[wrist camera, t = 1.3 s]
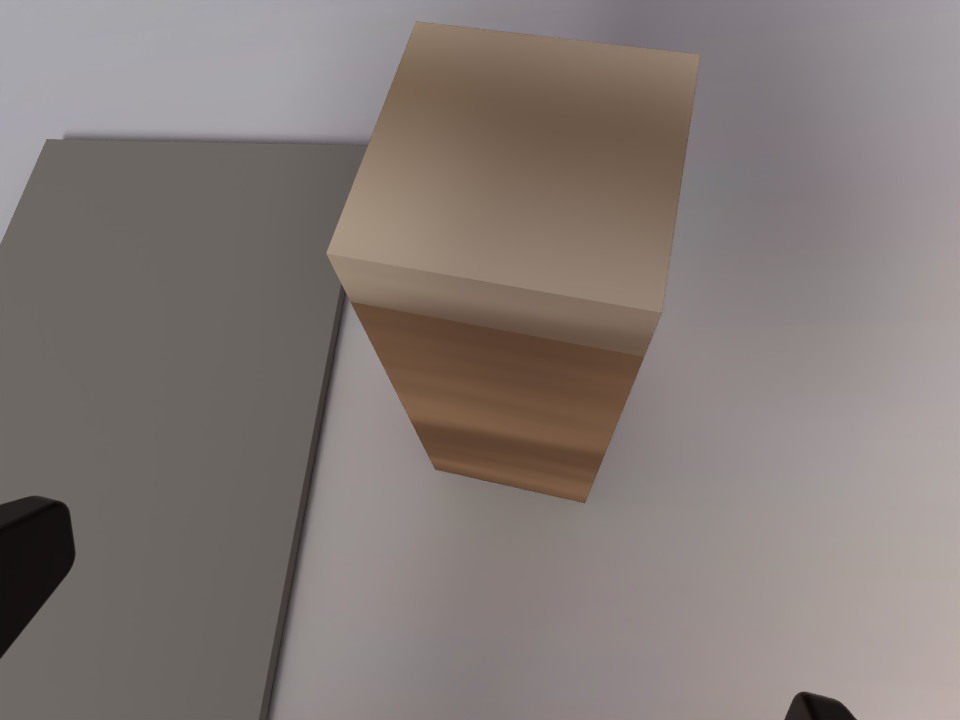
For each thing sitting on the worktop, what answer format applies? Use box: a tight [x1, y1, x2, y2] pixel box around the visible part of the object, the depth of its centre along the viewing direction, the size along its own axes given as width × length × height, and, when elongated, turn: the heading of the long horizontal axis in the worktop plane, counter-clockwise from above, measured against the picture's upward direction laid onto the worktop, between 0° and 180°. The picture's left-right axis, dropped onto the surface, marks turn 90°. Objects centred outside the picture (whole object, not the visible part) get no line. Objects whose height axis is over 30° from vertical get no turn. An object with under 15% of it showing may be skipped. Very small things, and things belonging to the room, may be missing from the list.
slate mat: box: [0, 139, 368, 720], centre depth 23 cm, size 24×14×1 cm, turn 175°
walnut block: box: [326, 21, 700, 503], centre depth 16 cm, size 5×5×13 cm
